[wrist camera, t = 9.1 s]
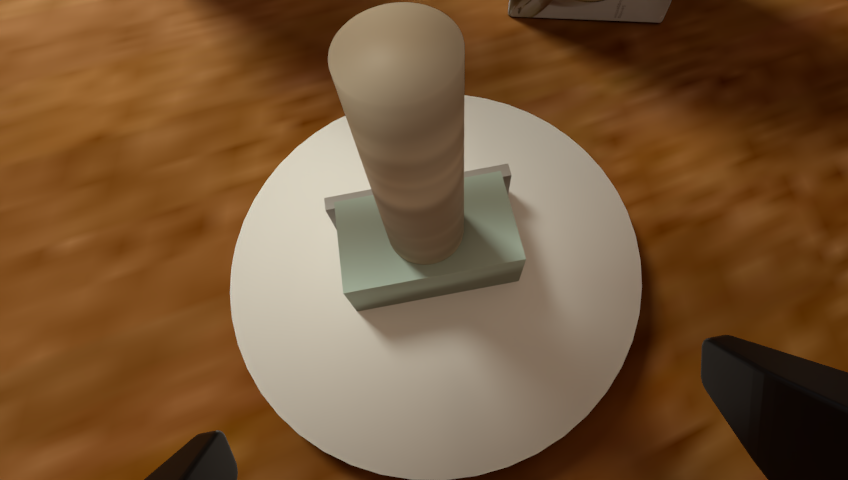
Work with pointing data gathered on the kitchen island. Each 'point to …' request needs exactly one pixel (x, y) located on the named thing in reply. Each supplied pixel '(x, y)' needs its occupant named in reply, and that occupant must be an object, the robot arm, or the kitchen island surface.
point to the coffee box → (592, 9)
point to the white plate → (440, 311)
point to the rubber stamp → (415, 166)
